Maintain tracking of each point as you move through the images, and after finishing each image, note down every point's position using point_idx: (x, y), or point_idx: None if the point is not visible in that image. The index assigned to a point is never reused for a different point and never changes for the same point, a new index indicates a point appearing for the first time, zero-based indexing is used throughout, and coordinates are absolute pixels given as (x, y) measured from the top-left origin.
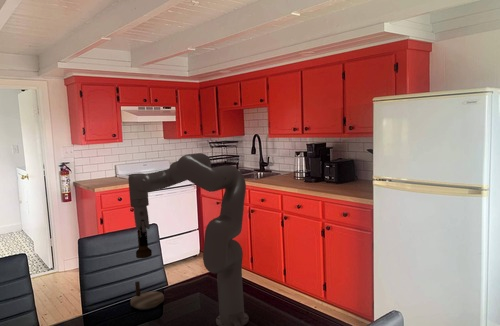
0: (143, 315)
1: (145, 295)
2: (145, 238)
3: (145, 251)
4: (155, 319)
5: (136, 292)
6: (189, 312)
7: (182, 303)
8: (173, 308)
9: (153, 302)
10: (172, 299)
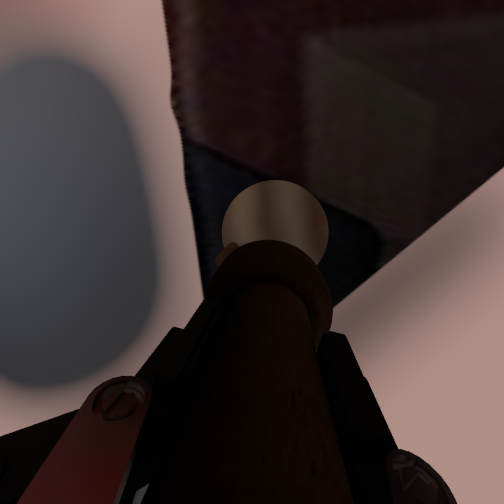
0: (331, 266)
1: (250, 232)
2: (393, 439)
3: (324, 323)
4: (383, 252)
5: None
6: (431, 152)
7: (349, 139)
8: (360, 180)
9: (325, 234)
10: (293, 152)
